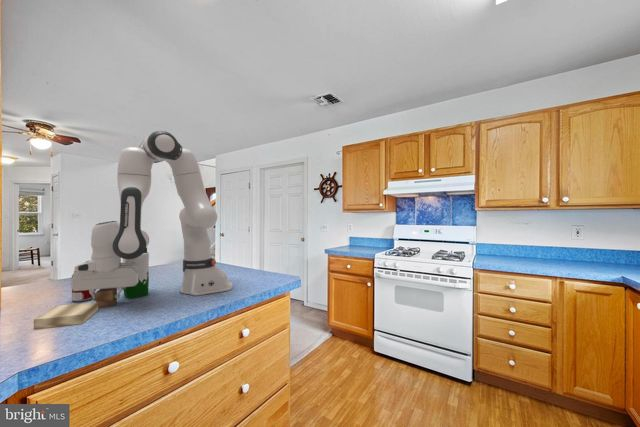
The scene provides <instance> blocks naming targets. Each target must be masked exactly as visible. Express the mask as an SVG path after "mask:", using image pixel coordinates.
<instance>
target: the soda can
mask: <svg viewBox="0 0 640 427" xmlns="http://www.w3.org/2000/svg"><path fill="white" fill-rule="evenodd" d="M75 272H76V271H75V270H73V274H74V273H75ZM73 274H72V275H71V278H72V277H73ZM92 299H93V297H92V295H91V294H90V293H89V290H82V291H74V290H73V289H72V288H71V301H73V302H76V303H80V302H86V301H87V302H88V301H90V300H92Z"/></svg>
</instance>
